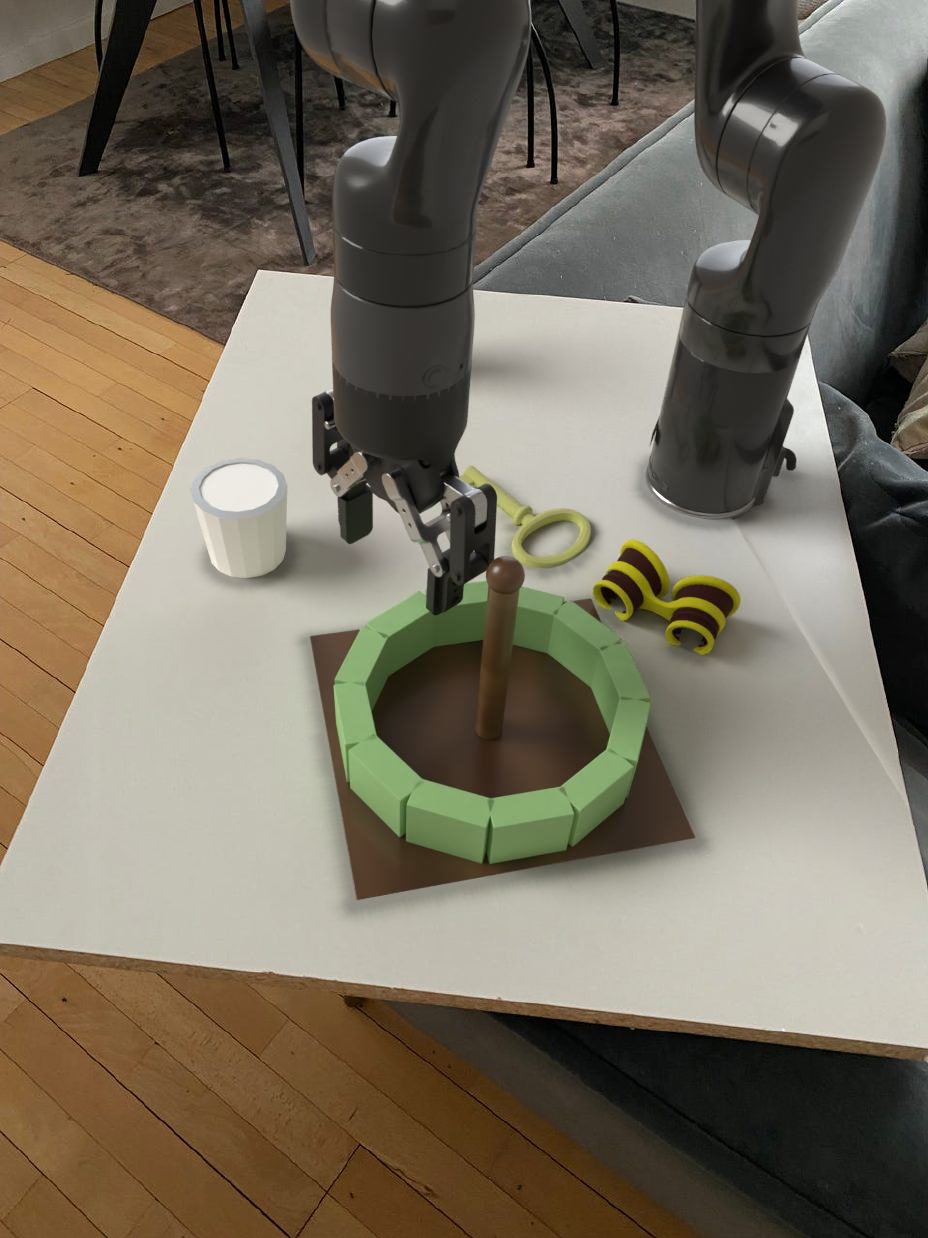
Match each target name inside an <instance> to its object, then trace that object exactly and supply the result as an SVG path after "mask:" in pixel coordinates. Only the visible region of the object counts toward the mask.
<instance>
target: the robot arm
mask: <svg viewBox="0 0 928 1238" xmlns="http://www.w3.org/2000/svg"><path fill="white" fill-rule="evenodd" d="M289 6H290V14H291V19H292V22H293V27H294V31H295V33H296V36H297V39H298V41H299V44H300V45H301V47H302V48H303V50H304V52H305V54H307V56H308V57H309V58H310V60H312V62H314V63H315V64H316V65H317V66H318V67H320V68H321V69H322V70H324V71H325V72H327V73H328V74H330V75H332V76H334V77H336V78H338V79H341V80H343V81H345V82H348V83H350V84H353V85H355V86H357V87H359V88H363V89H365V90H367V91H369V92H372V93H374V94H377V95H379V96H381V97H384V98H385V99H388V100H391V101H392V102H395V103H397V104H398V109H399V111H398V112H399V125H398V130H397V134H396V135H387V136H386V135H384V136H377V137H372V138H369V139H365V140H362V141H360V142H358V143H356V144H354V145H352V146H351V147H350V148H348V149H347V150H346V151H345V152H344V153H343V154H342V155H341V157H340V158H339V160H338V162H337V164H336V166H335V170H334V174H333V178H332V183H331V184H332V185H331V186H332V187H331V220H332V223H331V224H332V225H331V226H332V227H331V228H332V255H333V256H332V257H333V284H332V295H331V301H330V337H331V339H330V341H331V342H330V343H331V367H332V368H331V369H332V371H331V373H332V388H329V389H327V390H325V391H323V392H322V393H319V394H316V395H315V396H312V398H311V431H312V432H311V435H312V436H311V438H312V442H311V444H312V445H311V446H312V448H311V449H312V450H311V451H312V466H313V468H314V470H315V472H316V473H317V474H318V475H320V476H325V475H327V476H328V477H329V478H330V482H329V485H330V488H331V491H332V492H333V494H334V495H335V496H336V497H337V520H338V524H339V533H340V535H339V536H340V538H341V539H342V540H343V541H344V542H345V543H347V544H348V545H352V544H354V543H356V542H359V541H361V540H362V539H364V538H365V537H367V536H369V535H370V534H371V533H372V531H373V528H374V496H376V497H377V498H379V499H381V500H383V501H385V502H387V504H389V505H390V507H391V508H392V509H393V510H394V511H395V512H396V513H398V514H399V516H400V519H401V521H402V523H403V525H404V528H405V530H406V533H407V535H408V538H409V540H410V541H411V542H413V543H417V544H418V545H420V547H421V550H422V552H423V555H424V557H425V560H426V563H427V564H428V567H429V568H427V577H426V589H427V595H426V609H427V610H429V611H430V612H431V613H432V614H433V615H435V616H436V615H439V614H441V613H442V612H443V613H444V612H446V611H448V610H449V609H451V608H452V607H454V606H456V605H457V604H459V603H460V602H461V601H462V599H463V592H464V588H463V587H464V584H466V583H470V582H471V581H472V580H474V579H475V578H477V577H478V576H481V575H482V574H484V573H486V571H487V568H488V566H489V564H490V563H491V562H492V561H493V560H494V559H495V553H496V551H495V549H496V532H497V531H496V530H497V511H498V509H497V508H498V505H497V494H496V491H495V489H494V488H493V487H492V486H491V485H490V484H488V483H485V484H483V485H481V486H480V487H478V488H476V487H473V486H470V485H468V484H467V483H465V482H464V481H462V480H461V479H459V477H460V472H459V468H458V466H457V460H456V450H457V449H458V446H459V444H460V441H461V440H462V438H463V436H464V433H465V431H466V429H467V425H468V421H469V419H468V417H469V404H470V393H471V392H470V391H471V378H472V366H473V349H474V336H475V324H476V323H475V322H476V321H475V320H476V313H475V312H476V310H475V296H474V271H475V258H476V244H477V228H478V208H479V207H478V206H479V203H480V199H481V196H482V192H483V189H484V186H485V183H486V180H487V178H488V174H489V171H490V168H491V165H492V162H493V159H494V157H495V153H496V150H497V147H498V143H499V141H500V138H501V134H502V131H503V129H504V127H505V123H506V120H507V118H508V114H509V112H510V109H511V107H512V104H513V101H514V99H515V96H516V93H517V90H518V87H519V85H520V82H521V79H522V76H523V72H524V69H525V66H526V62H527V59H528V55H529V50H530V44H531V37H532V9H531V0H289ZM694 10H695V11H694V12H695V13H694V14H695V15H694V16H695V17H694V18H695V19H694V20H695V23H694V25H695V27H694V28H695V29H694V30H695V34H694V37H695V41H694V42H695V43H694V107H693V122H694V123H693V125H694V126H693V127H694V141H695V149H696V155H697V159H698V163H699V166H700V168H701V170H702V172H703V174H704V175H705V177H706V178H707V179H708V181H709V182H710V183H711V184H712V186H714V187H715V188H716V189H717V190H718V191H720V192H721V193H722V194H724V195H725V196H727V197H728V198H730V199H732V200H733V201H735V202H736V203H738V204H740V205H741V206H742V207H744V208H746V209H747V210H749V211H750V212H753V214H756V215H758V217H757V221H756V225H755V229H754V231H753V234H752V237H751V238H747V239H746V238H744V239H734V240H727V241H724V242H720V243H717V244H713V245H711V246H709V247H707V248H706V249H705V250H703V251H702V252H701V253H700V254H699V255H698V256H697V258H696V259H695V262H694V264H693V266H692V269H691V273H690V277H689V281H688V286H687V289H686V290H687V291H686V294H685V299H684V304H683V308H682V313H681V317H680V322H679V326H678V331H677V336H676V339H675V343H674V344H675V345H674V350H673V354H672V359H671V363H670V367H669V371H668V376H667V380H666V385H665V390H664V394H663V398H662V402H661V408H660V412H659V416H658V417H657V421H656V423H655V426H654V428H653V430H652V434H651V438H650V443H649V446H648V447H649V448H651V452H650V455H649V459H648V462H647V465H646V469H645V473H644V475H645V477H644V478H645V483H646V486H647V488H648V490H649V492H650V493H651V494H652V496H653V497H654V498H655V499H656V500H657V501H658V502H659V503H661V504H662V505H663V506H665V507H666V508H668V509H670V510H672V511H675V512H676V513H679V514H681V515H683V516H687V517H690V518H694V519H695V518H696V519H702V520H723V519H729V518H731V520H735V519H737V518H739V517H742V516H744V515H746V513H748V512H749V511H750V510H751V508H752V507H753V506H756V505H762V504H764V503H765V501H766V497H767V494H768V492H769V488H770V485H771V482H772V479H773V477H774V478H775V477H779V475H780V473H781V470H782V467H783V464H784V460H785V468H786V470H787V471H789V472H792V471H794V470H796V468H797V456H796V453H795V452H794V451H793V450H791V449H790V448H787V447H785V446H784V444H785V440H786V438H787V434H788V431H789V429H790V426H791V422H792V419H793V416H794V413H795V409H794V406H793V404H792V403H791V401H790V400H789V399H788V396H789V393H790V390H791V387H792V384H793V381H794V377H795V375H796V372H797V368H798V365H799V362H800V359H801V356H802V352H803V349H804V346H805V344H806V340H807V336H808V333H809V332H810V331H809V330H810V328H811V324H812V322H813V319H814V316H815V313H816V310H817V307H818V304H819V302H820V301H821V299H822V297H823V296H824V295H825V292H826V291H827V289H828V288H829V286H830V285H831V283H832V282H833V280H834V278H835V276H836V275H837V273H838V271H839V269H840V267H841V265H842V263H843V259H844V256H845V254H846V252H847V249H848V246H849V244H850V241H851V238H852V235H853V233H854V230H855V228H856V225H857V223H858V220H859V218H860V215H861V213H862V210H863V207H864V205H865V203H866V201H867V198H868V195H869V193H870V190H871V188H872V185H873V183H874V180H875V177H876V175H877V172H878V169H879V165H880V162H881V159H882V156H883V152H884V148H885V147H884V146H885V141H886V136H887V113H886V110H885V107H884V103H883V102H882V100H881V98H880V97H879V96H878V95H877V94H876V93H875V92H874V91H873V90H871V89H870V88H868V87H866V86H864V85H863V84H860V83H859V82H857V81H855V80H852V79H851V78H848V77H846V76H845V75H842V74H840V73H837V72H835V71H834V70H832V69H829V68H827V67H825V66H823V65H821V64H820V63H819V64H818V63H817V62H814V61H812V60H810V59H808V58H807V57H806V55H805V54H804V51H803V47H802V44H801V38H800V31H799V30H800V29H799V14H798V13H799V12H798V0H694ZM652 443H653V444H652ZM334 444H336V447H335V448H333V449H331V448H332V446H333V445H334ZM651 445H652V447H651ZM439 503H440V506H441V511H440V514H439V515H438V516H436V517H434V518H433V519H431V520H429V521H427V522H425V523H424V522H423V520H422V517H421V515H420V514H422V513H424V512H426V511H428V510H430V509H433V507H435V506H436V505H437V504H439ZM443 533H445V535H446V537H447V541H448V543H449V548H448V549H446V550H444V551H442V549H441V546H440V544H439V541H438V538H439V536H440V535H441V534H443Z"/></svg>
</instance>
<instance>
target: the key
mask: <svg viewBox="0 0 928 1238" xmlns="http://www.w3.org/2000/svg"><path fill="white" fill-rule="evenodd" d="M459 479H461V480H462V481H464V482H465V483H467V484H468V485H470V486H471V487H473V486H474V488H475V489H476V488H478V487H480V486H481V485H483V484H485V483H488V484H490V485H491V486H492V487H493V488H494V489H495V491H496V494H497V507H499V508H500V509H501V510H503V511H504V512H505V513H506V514H508V515H509V516H510V517H511V518H513V519H512V523H513V525H514V526H520V527H519V528H518V530H517V531H516V532H515V534H514V536H513V539H512V542H511V552H512V555H513V557H514V558H515V559H517V560H518V561H519V562H520V563H521V564H522V565H524V566H527V567H531V568H537V569H538V568H543V569H544V568H549V567H551V568H552V567H555V566H559V565H561V564H564V563H566V562H569V561H570V560H572V559H573V558H575V557H576V556H578V555H579V554H580V553H582V551H584V550H585V548H586V547H587V546H588V544H589V542H590V540H591V537H592V528H591V524H590V522H589V520H588V518H587V517H586V516H585V515H584V514H582V513H581V512H579V511H577V510H575V509H572V508H564V507H561V508H552V509H549V510H545V511H543V512H541V513H538V514H536V515H534V514H533V508H532V506H530V505H528V504H527V505H522V504H520V503H519V501H517V500H516V499H515V498H513V497H512V496H510V495H509V494H508V493H507V492H506V491H504V490H503V489H502V488H501V487H499V486H498V485H497V484H496V483H495V482H494V481H492V480H491V479H490V478H489V477H487V475H485V474H484V473H482V472H481V471H480V470H479V469H477V468H476V467H475V466H474V465H469V466H468V467H467V468H466V469H465V470H464V472H463V474H461V475H459ZM560 521H567V522H571V523H574V524H575V525H577V526H578V528H579V534H578V537H577V539H576V540H575V541H574V543H573V544H572V545H571V546H570V547H568V548H567V549H565V550H564V551H562V552H559V553H557V554H554V555H548V556H536V555H533V554H529V553H528V552H526V550H525V549H524V548H523V545H522V544H523V542H524V541H525V539H526V538H527V537H528V536H530V535H531V534H532V533H534V532H535V531H536V530H538V529H540V528H542V527H544V526H546V525H548V524H551V523H556V522H560Z"/></svg>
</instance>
